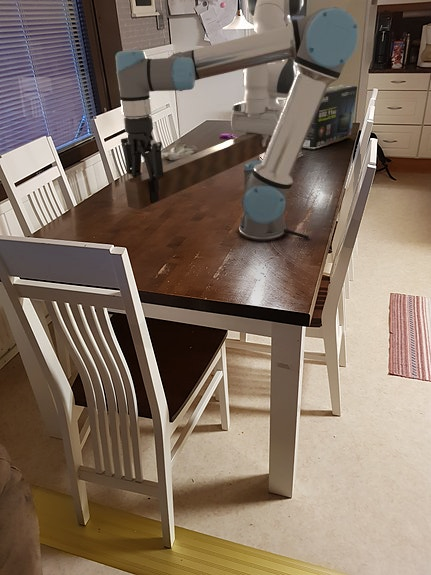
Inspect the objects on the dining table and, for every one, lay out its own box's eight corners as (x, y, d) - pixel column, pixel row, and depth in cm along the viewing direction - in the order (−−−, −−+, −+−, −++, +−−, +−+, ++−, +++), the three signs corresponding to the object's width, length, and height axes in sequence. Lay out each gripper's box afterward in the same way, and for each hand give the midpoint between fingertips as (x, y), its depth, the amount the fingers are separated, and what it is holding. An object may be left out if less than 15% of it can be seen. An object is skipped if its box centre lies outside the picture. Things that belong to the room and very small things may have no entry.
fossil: (184, 156, 217) (163, 136, 220) (174, 174, 223) (154, 154, 227) (205, 153, 231) (186, 134, 234) (195, 171, 237) (176, 152, 240)
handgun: (220, 136, 265) (220, 133, 264) (233, 135, 266) (233, 132, 265) (227, 145, 248) (227, 141, 247) (241, 143, 249) (241, 140, 248)
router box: (314, 151, 231) (318, 94, 217) (296, 148, 237) (299, 92, 224) (352, 138, 251) (358, 85, 238) (335, 135, 258) (340, 83, 245)
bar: (139, 210, 128) (136, 183, 124) (128, 207, 131) (124, 180, 127) (269, 150, 177) (269, 129, 173) (258, 149, 179) (258, 128, 175)
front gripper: (172, 116, 119) (179, 201, 131) (124, 111, 129) (135, 191, 140) (152, 121, 114) (162, 209, 126) (104, 116, 123) (117, 198, 135)
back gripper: (285, 107, 162) (284, 146, 169) (237, 102, 173) (238, 140, 180) (276, 110, 158) (275, 150, 165) (228, 105, 168) (229, 143, 176)
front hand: (148, 200), depth 133 cm, fingers closed on bar, 5 cm apart
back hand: (255, 145), depth 172 cm, fingers closed on bar, 5 cm apart
